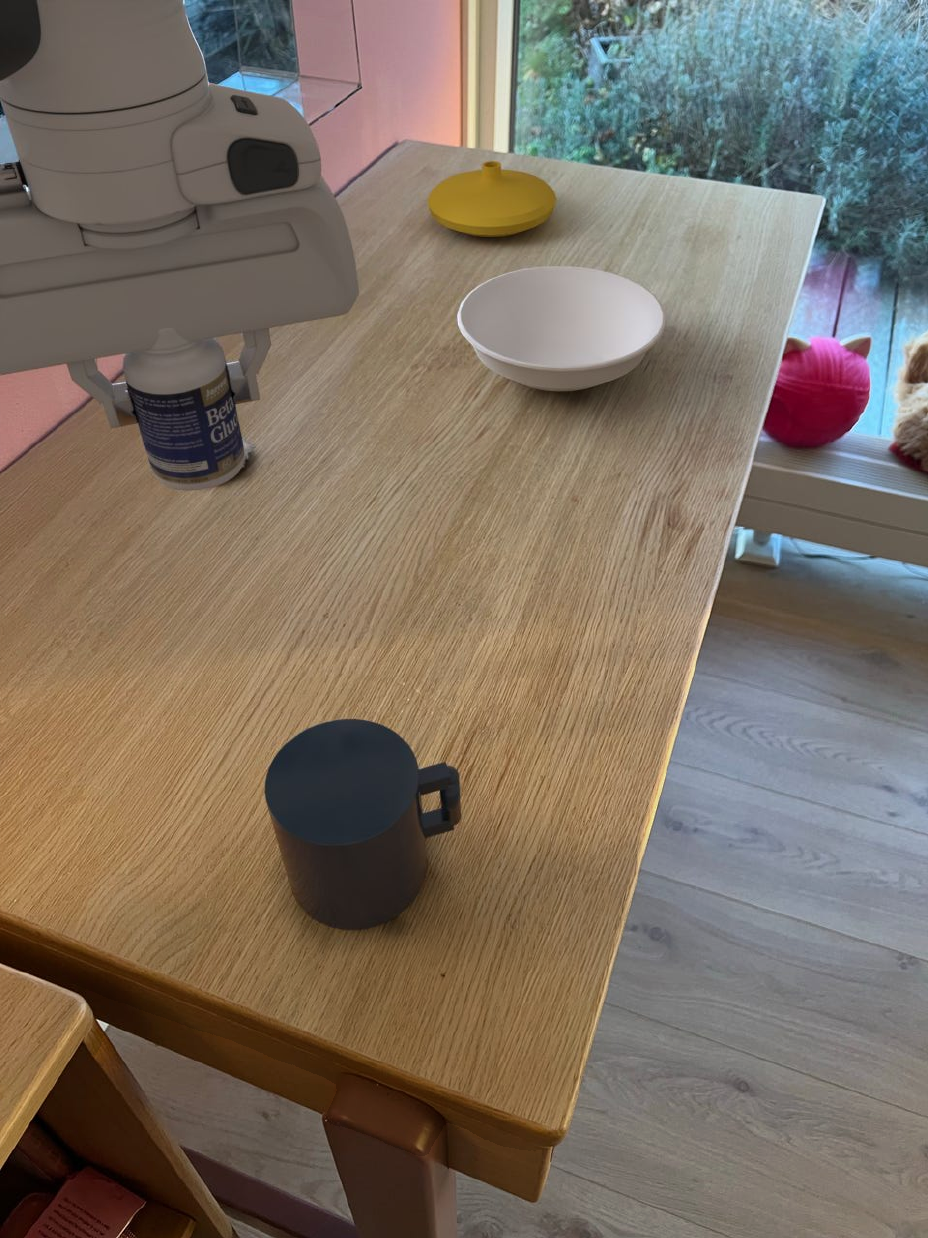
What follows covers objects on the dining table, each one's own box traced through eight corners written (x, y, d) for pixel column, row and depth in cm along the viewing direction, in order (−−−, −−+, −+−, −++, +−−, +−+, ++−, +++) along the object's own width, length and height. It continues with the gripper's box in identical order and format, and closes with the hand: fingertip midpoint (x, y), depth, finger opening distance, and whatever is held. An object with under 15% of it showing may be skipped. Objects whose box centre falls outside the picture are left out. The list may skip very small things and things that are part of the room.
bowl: (558, 455, 90) (561, 393, 85) (418, 369, 101) (414, 311, 96) (701, 373, 99) (710, 314, 94) (558, 303, 109) (560, 246, 105)
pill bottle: (238, 493, 56) (203, 335, 49) (143, 494, 56) (95, 337, 49) (253, 437, 60) (222, 284, 53) (164, 439, 60) (121, 285, 53)
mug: (304, 948, 57) (279, 865, 51) (277, 829, 63) (252, 740, 56) (483, 894, 59) (481, 807, 53) (442, 783, 65) (435, 692, 59)
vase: (571, 242, 120) (574, 182, 115) (442, 258, 118) (439, 198, 113) (536, 190, 131) (538, 134, 126) (418, 204, 129) (414, 147, 124)
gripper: (-130, 209, 41) (-11, 480, 51) (352, 142, 46) (377, 403, 55) (-119, 155, 45) (-11, 414, 55) (322, 98, 50) (349, 348, 60)
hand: (186, 408), depth 55 cm, fingers closed on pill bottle, 5 cm apart
